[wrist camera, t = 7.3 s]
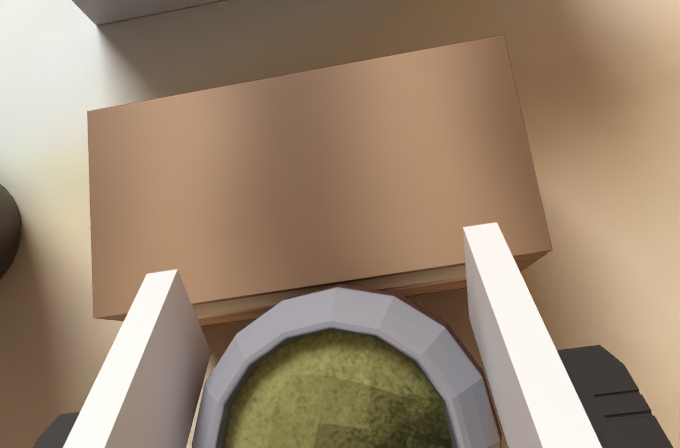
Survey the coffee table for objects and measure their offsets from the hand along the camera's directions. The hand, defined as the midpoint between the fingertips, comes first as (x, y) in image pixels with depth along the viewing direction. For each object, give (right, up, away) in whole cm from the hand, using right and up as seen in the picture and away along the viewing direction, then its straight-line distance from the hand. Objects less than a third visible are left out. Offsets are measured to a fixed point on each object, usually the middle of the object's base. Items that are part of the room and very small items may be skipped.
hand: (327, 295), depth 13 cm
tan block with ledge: (0, +2, +8) cm, 8 cm away
